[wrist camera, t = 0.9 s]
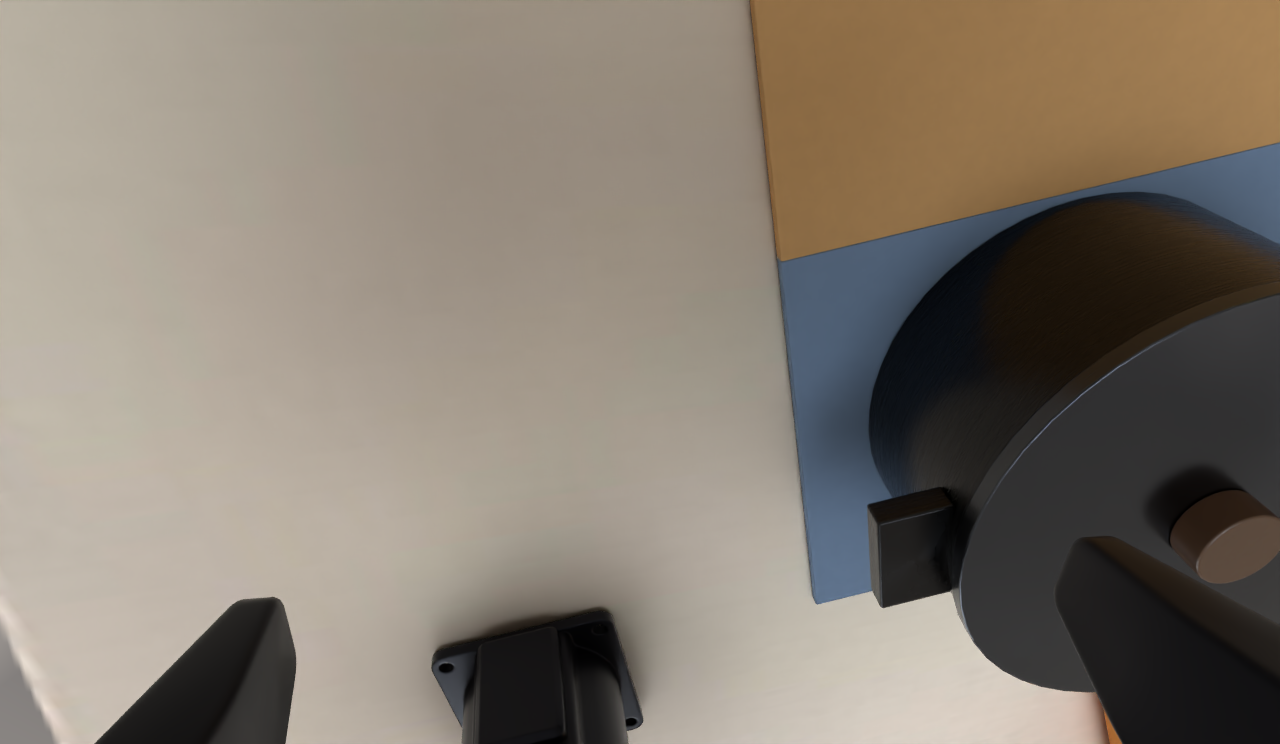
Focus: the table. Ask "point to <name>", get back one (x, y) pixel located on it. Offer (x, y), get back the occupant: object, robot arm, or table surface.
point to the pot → (1082, 420)
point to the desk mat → (974, 173)
